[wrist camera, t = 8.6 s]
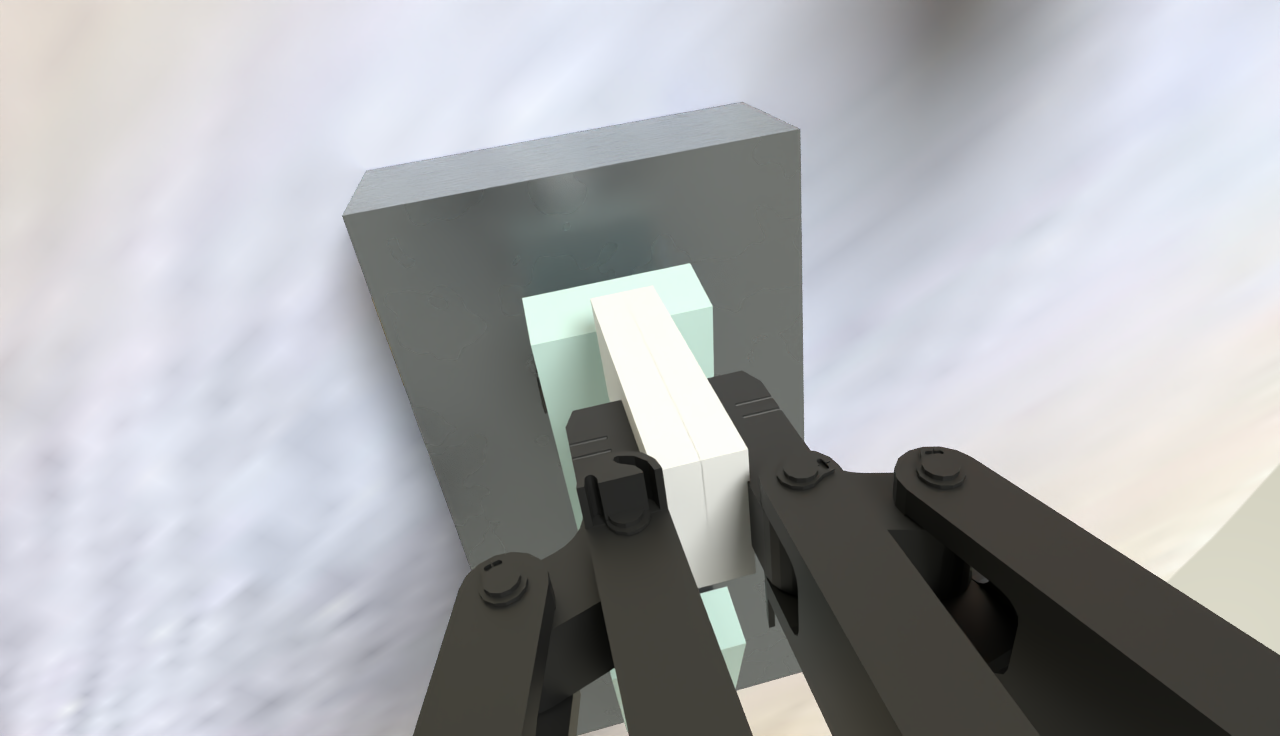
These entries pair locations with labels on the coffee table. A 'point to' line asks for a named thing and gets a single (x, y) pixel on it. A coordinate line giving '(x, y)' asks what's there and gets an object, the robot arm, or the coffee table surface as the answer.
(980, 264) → the coffee table surface
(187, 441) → the coffee table surface
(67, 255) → the coffee table surface
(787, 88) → the coffee table surface
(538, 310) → the switch
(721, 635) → the switch
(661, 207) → the console
